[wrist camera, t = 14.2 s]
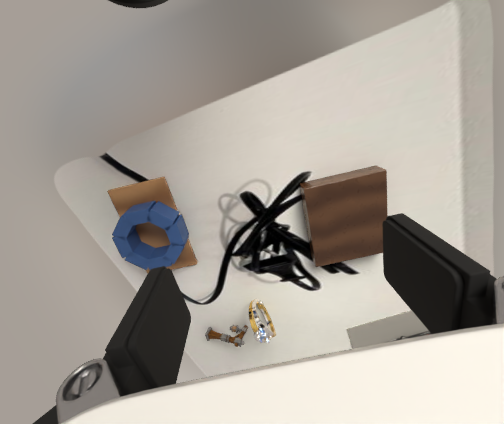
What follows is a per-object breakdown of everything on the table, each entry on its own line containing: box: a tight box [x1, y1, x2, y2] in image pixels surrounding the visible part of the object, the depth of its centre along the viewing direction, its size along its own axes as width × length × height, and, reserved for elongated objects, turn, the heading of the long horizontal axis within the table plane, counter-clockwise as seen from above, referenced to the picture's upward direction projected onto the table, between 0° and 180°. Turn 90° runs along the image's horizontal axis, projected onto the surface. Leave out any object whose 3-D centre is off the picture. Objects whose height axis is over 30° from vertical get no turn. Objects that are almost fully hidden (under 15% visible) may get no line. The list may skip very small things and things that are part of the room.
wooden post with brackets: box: [205, 325, 248, 347], centre depth 49 cm, size 2×8×4 cm, turn 100°
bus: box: [347, 310, 431, 349], centre depth 51 cm, size 14×25×4 cm, turn 110°
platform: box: [300, 166, 387, 267], centre depth 40 cm, size 14×12×3 cm
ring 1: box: [112, 201, 189, 270], centre depth 39 cm, size 10×10×4 cm
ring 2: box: [249, 299, 276, 343], centre depth 44 cm, size 7×3×8 cm, turn 28°
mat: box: [107, 177, 197, 273], centre depth 41 cm, size 16×9×1 cm, turn 13°
